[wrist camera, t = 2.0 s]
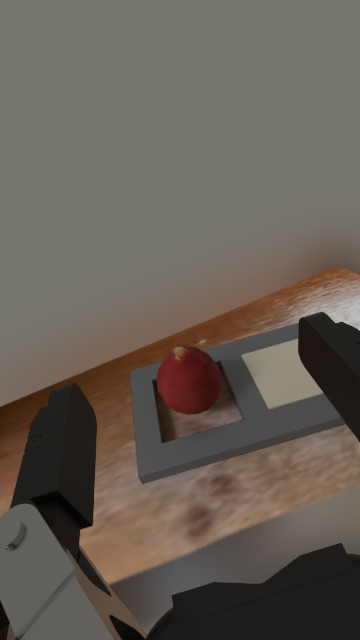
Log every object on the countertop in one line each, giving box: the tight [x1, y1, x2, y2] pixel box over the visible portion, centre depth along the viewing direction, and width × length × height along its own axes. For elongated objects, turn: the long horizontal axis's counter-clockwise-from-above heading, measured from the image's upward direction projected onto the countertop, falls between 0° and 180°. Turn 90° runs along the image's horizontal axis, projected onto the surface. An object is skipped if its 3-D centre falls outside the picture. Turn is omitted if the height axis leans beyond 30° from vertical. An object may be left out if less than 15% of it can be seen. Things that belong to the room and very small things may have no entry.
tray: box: [130, 323, 346, 484], centre depth 30 cm, size 20×12×1 cm, turn 101°
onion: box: [157, 347, 222, 414], centre depth 28 cm, size 6×6×8 cm
